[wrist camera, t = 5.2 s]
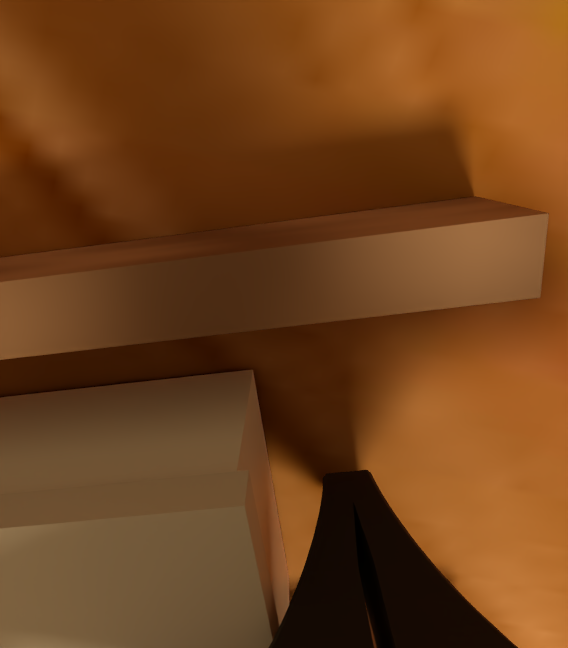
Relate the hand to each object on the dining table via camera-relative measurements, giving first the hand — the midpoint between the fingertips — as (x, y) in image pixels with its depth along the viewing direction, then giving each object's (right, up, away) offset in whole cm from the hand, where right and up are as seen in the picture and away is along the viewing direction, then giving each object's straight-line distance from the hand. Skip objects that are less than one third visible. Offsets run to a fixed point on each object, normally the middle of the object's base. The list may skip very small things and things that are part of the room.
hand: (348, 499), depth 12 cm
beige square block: (-6, 0, +1) cm, 6 cm away
